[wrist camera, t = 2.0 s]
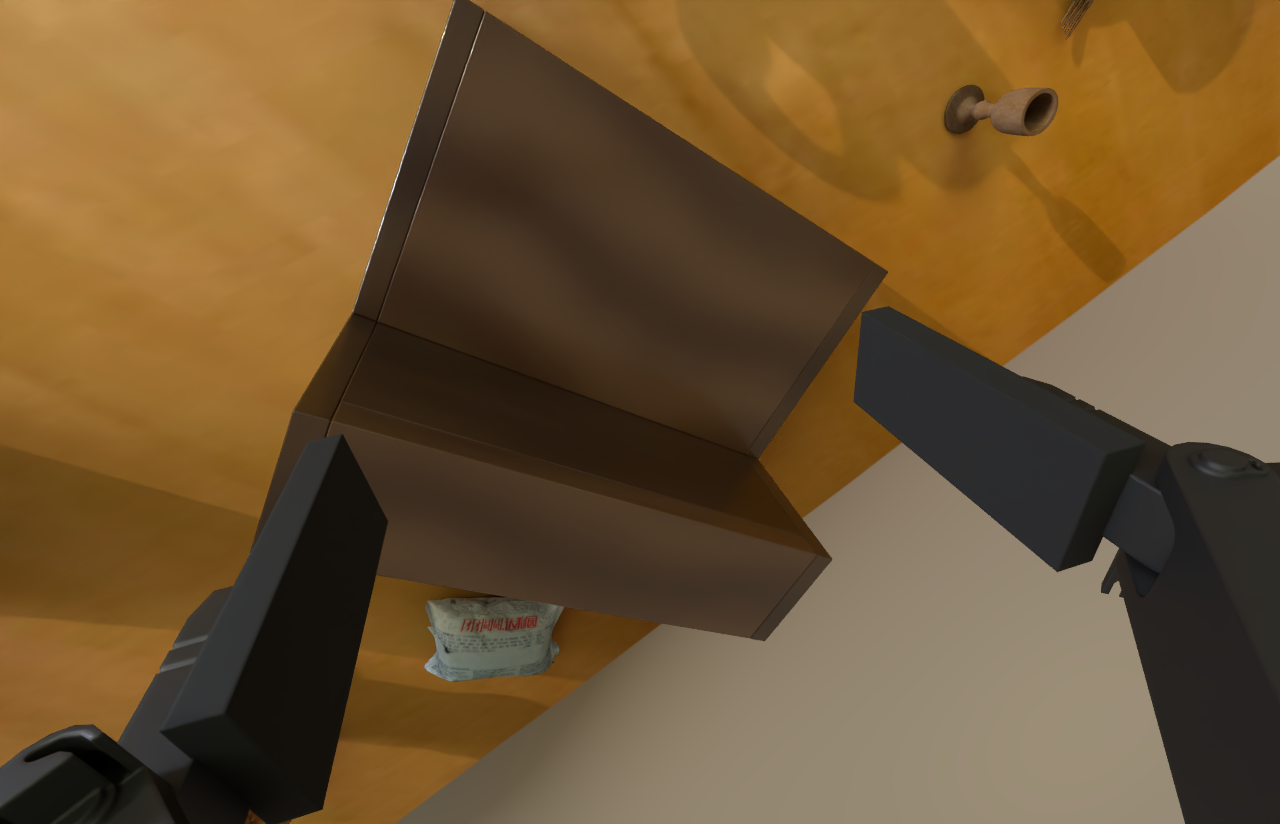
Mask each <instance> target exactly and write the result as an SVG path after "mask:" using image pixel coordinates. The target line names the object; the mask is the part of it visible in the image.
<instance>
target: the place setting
mask: <svg viewBox="0 0 1280 824" xmlns="http://www.w3.org/2000/svg"><path fill="white" fill-rule="evenodd" d="M1082 1H1083V0H1080V1H1079V2H1078V4H1077V5H1076V7H1075V8H1074V10H1073V11H1072V13H1071V14H1070V16H1069V18H1068V19H1067V21H1066V23H1065V24H1064V26H1063V28H1062V30H1063V29H1064V28H1065V26H1066V25H1067V23H1068V22H1069V21H1070V19H1071V17H1072V16H1073V14H1074V13H1075V11H1076V10H1077V8H1078V7H1079V5H1080V4H1081V2H1082ZM1076 2H1077V0H1074V2H1073V3H1072V5H1071V6H1070V8H1069V9H1068V11H1067V13H1066V14H1065V16H1064V18H1063V19H1062V21H1061V23H1060V25H1061V24H1062V23H1063V21H1064V20H1065V19H1066V17H1067V16H1068V14H1069V12H1070V11H1071V9H1072V8H1073V6H1074V5H1075V3H1076ZM1092 2H1093V0H1085V1H1084V3H1083V4H1082V6H1081V7H1080V9H1079V10H1078V12H1077V13H1076V15H1075V16H1074V18H1073V19H1072V21H1071V23H1070V24H1069V26H1068V28H1067V29H1066V31H1065V33H1064V35H1065V34H1066V32H1067V31H1068V30H1069V28H1070V27H1071V25H1072V24H1073V22H1074V21H1075V19H1076V18H1077V16H1078V15H1079V13H1080V12H1081V10H1082V9H1083V7H1084V6H1085V5H1086V3H1088V4H1087V6H1086V8H1085V9H1084V11H1083V12H1082V14H1081V15H1080V17H1079V18H1078V20H1077V21H1076V23H1075V24H1074V26H1073V27H1072V29H1071V31H1070V32H1069V34H1068V36H1067V38H1068V37H1069V36H1070V35H1071V33H1072V32H1073V30H1074V29H1075V27H1076V26H1077V24H1078V23H1079V21H1080V20H1081V18H1082V17H1083V15H1084V14H1085V12H1086V11H1087V9H1088V8H1089V7H1090V5H1091V4H1092ZM1067 38H1066V39H1067ZM1057 108H1058V96H1057V94H1056V92H1055V91H1054V90H1053V89H1050V88H1024V89H1017V90H1013V91H1010V92H1008V93H1006V94H1005V95H1003V96H1002V97H1001V98H1000V99H999V100H998V101H997V102H996V104H991V103H990V102H988V101H984V95H983V92H982V90H981V89H980V88H979V87H977V86H975V85H968V86H965V87H963V88H961V89H959V90H958V91H957V92H956V93H955V94H954V95H953V96H952V98H951V99H950V101H949V103H948V105H947V108H946V112H945V122H946V126H947V128H948V129H949V130H950V131H951V132H953V133H956V134H961V133H964V132H967V131H968V130H970V129H971V128H972V127H973V126H974V125H975V124H976V123H977V121H978V120H983V119H985V118H988V117H990V118H991V122H992V125H993V126H994V128H995V129H996V130H998V131H1000V132H1002V133H1006V134H1012V135H1021V136H1034V135H1038V134H1040V133H1041V132H1043V131H1044V130H1045V129H1046V128H1047V127H1048V126H1049V125H1050V124H1051V122H1052V121H1053V119H1054V117H1055V115H1056V112H1057Z"/></svg>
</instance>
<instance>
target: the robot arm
mask: <svg viewBox="0 0 1280 824" xmlns="http://www.w3.org/2000/svg"><path fill="white" fill-rule="evenodd" d="M854 402H855V403H856V404H857V405H858V406H859V407H861V408H862V409H863V410H864V411H865V412H867V413H868V414H869V415H870V416H871V417H873V418H874V419H875V420H876V421H877V422H879V423H880V424H881V425H882V426H883V427H884V428H886V429H887V430H888V431H889V432H890V433H892V434H893V435H894V436H895V437H896V438H898V439H899V440H900V441H901V442H902V443H904V444H905V445H906V446H907V447H908V448H910V449H911V450H912V451H913V452H914V453H916V454H917V455H918V456H919V457H920V458H922V459H923V460H924V461H925V462H926V463H928V464H929V465H930V466H931V467H932V468H934V469H935V470H936V471H937V472H938V473H939V474H941V475H942V476H943V477H944V478H945V479H947V480H948V481H949V482H950V483H951V484H953V485H954V486H955V487H956V488H957V489H959V490H960V491H961V492H962V493H963V494H965V495H966V496H967V497H968V498H969V499H971V500H972V501H973V502H974V503H975V504H977V505H978V506H979V507H980V508H981V509H982V510H984V511H985V512H986V513H987V514H988V515H990V516H991V517H992V518H993V519H994V520H996V521H997V522H998V523H999V524H1000V525H1002V526H1003V527H1004V528H1005V529H1006V530H1008V531H1009V532H1010V533H1011V534H1012V535H1014V536H1015V537H1016V538H1017V539H1018V540H1019V541H1021V542H1022V543H1023V544H1024V545H1026V546H1027V547H1028V548H1029V549H1030V550H1031V551H1033V552H1034V553H1035V554H1036V555H1037V556H1039V557H1040V558H1041V559H1042V560H1043V561H1045V562H1046V563H1047V564H1048V565H1049V566H1051V567H1052V568H1053V569H1054V570H1056V571H1057V572H1059V571H1062V570H1065V569H1068V568H1071V567H1074V566H1077V565H1080V564H1083V563H1087V562H1090V561H1092V560H1093V558H1094V555H1095V553H1096V551H1097V549H1098V547H1099V544H1100V542H1101V540H1102V538H1103V537H1105V538H1106V539H1108V540H1109V541H1110V542H1112V543H1113V544H1115V545H1116V546H1117V547H1119V550H1118V552H1117V554H1116V556H1115V558H1114V560H1113V562H1112V564H1111V566H1110V568H1109V570H1108V572H1107V574H1106V576H1105V578H1104V580H1103V582H1102V587H1101V593H1105V594H1109V592H1110V590H1111V588H1112V586H1113V584H1114V583H1115V582H1117V581H1119V582H1120V587H1121V590H1122V591H1121V593H1120V595H1119V596H1120V597H1123V598H1124V601H1125V605H1126V608H1127V612H1128V616H1129V619H1130V623H1131V626H1132V630H1133V634H1134V638H1135V641H1136V645H1137V649H1138V652H1139V656H1140V659H1141V663H1142V667H1143V671H1144V674H1145V678H1146V681H1147V685H1148V689H1149V693H1150V696H1151V700H1152V703H1153V707H1154V711H1155V715H1156V718H1157V722H1158V726H1159V729H1160V733H1161V737H1162V740H1163V744H1164V747H1165V751H1166V755H1167V759H1168V762H1169V766H1170V770H1171V773H1172V777H1173V781H1174V784H1175V788H1176V792H1177V795H1178V799H1179V802H1180V806H1181V809H1182V814H1183V817H1184V820H1185V824H1280V463H1264V462H1262V461H1260V460H1259V459H1256V458H1255V457H1253V456H1251V455H1249V454H1247V453H1244V452H1241V451H1238V450H1235V449H1232V448H1229V447H1226V446H1220V445H1215V444H1210V443H1197V442H1186V443H1181V444H1176V445H1174V446H1170V445H1168V444H1166V443H1164V442H1162V441H1160V440H1158V439H1156V438H1154V437H1152V436H1150V435H1148V434H1146V433H1144V432H1142V431H1140V430H1138V429H1136V428H1135V427H1133V426H1130V425H1129V424H1127V423H1125V422H1123V421H1121V420H1119V419H1117V418H1115V417H1113V416H1111V415H1109V414H1107V413H1105V412H1103V411H1102V410H1095V408H1094V406H1091V405H1090V404H1088V403H1086V402H1084V401H1082V400H1076V399H1075V397H1074V396H1072V395H1070V394H1068V393H1067V392H1065V391H1063V390H1061V389H1059V388H1057V387H1055V386H1053V385H1050V384H1047V383H1044V382H1040V381H1036V380H1033V379H1030V378H1027V377H1021V376H1019V375H1017V374H1015V373H1014V372H1011V371H1010V370H1008V369H1006V368H1004V367H1002V366H1000V365H998V364H997V363H995V362H993V361H991V360H989V359H987V358H985V357H983V356H981V355H979V354H978V353H976V352H974V351H972V350H970V349H968V348H966V347H964V346H962V345H961V344H959V343H957V342H955V341H953V340H951V339H949V338H947V337H945V336H944V335H942V334H940V333H938V332H936V331H934V330H932V329H930V328H928V327H926V326H925V325H923V324H921V323H919V322H917V321H915V320H913V319H911V318H909V317H908V316H906V315H904V314H902V313H900V312H898V311H896V310H894V309H892V308H890V307H889V306H888V307H883V308H879V309H875V310H870V311H866V312H862V318H861V328H860V339H859V349H858V360H857V370H856V381H855V391H854ZM387 525H388V520H387V518H386V516H385V514H384V512H383V510H382V508H381V506H380V504H379V503H378V501H377V499H376V497H375V495H374V493H373V491H372V489H371V487H370V485H369V483H368V481H367V480H366V478H365V476H364V474H363V472H362V470H361V468H360V466H359V464H358V462H357V460H356V458H355V457H354V455H353V453H352V451H351V449H350V447H349V445H348V443H347V441H346V439H345V437H344V435H343V434H339V435H335V436H330V437H326V438H322V439H317V440H313V441H309V442H307V444H306V446H305V448H304V450H303V452H302V454H301V456H300V458H299V459H298V461H297V463H296V465H295V467H294V469H293V471H292V473H291V475H290V477H289V479H288V481H287V483H286V485H285V487H284V489H283V491H282V493H281V495H280V496H279V498H278V500H277V502H276V504H275V506H274V508H273V510H272V512H271V514H270V516H269V518H268V520H267V522H266V524H265V526H264V528H263V530H262V532H261V533H260V535H259V537H258V539H257V541H256V543H255V545H254V547H253V549H252V551H251V553H250V555H249V557H248V559H247V561H246V563H245V565H244V567H243V569H242V571H241V572H240V574H239V576H238V578H237V580H236V582H235V584H234V586H231V587H228V588H224V589H220V590H216V591H214V592H213V593H212V594H211V595H210V596H209V597H208V598H207V599H206V600H205V601H204V602H203V603H202V604H201V605H200V606H199V607H198V608H197V609H196V610H195V611H194V612H193V613H192V614H191V616H190V617H189V618H188V619H187V621H186V623H185V624H184V626H183V628H182V630H181V632H180V633H179V635H178V637H177V639H176V640H175V642H174V644H173V650H171V651H169V653H168V654H167V656H166V658H165V660H164V661H163V663H162V665H161V667H160V673H159V674H156V675H155V677H154V679H153V681H152V683H151V684H150V686H149V688H148V690H147V691H146V693H145V695H144V697H143V698H142V700H141V702H140V704H139V705H138V707H137V709H136V711H135V712H134V714H133V716H132V718H131V719H130V721H129V723H128V725H127V727H126V728H125V730H124V732H123V734H122V735H121V737H120V739H119V741H118V742H117V743H116V742H115V741H114V740H113V739H111V738H110V737H109V736H108V735H106V734H105V733H104V732H102V731H101V730H100V729H98V728H97V727H96V726H94V725H74V726H71V727H68V728H66V729H63V730H60V731H57V732H55V733H52V734H49V735H48V736H46V737H44V738H43V739H41V740H39V741H38V742H36V743H34V744H32V745H31V746H29V747H27V748H26V749H24V750H22V751H21V752H20V753H18V754H17V755H16V756H15V757H13V758H12V759H11V760H10V761H8V762H7V763H6V764H5V765H3V766H2V767H1V768H0V824H245V822H246V819H247V816H248V813H249V810H251V811H252V812H253V813H254V814H256V815H257V816H258V817H259V818H260V819H261V820H263V821H264V822H265V823H266V824H279V823H282V822H285V821H288V820H291V819H294V818H297V817H301V816H304V815H307V814H310V813H313V812H316V811H319V810H322V809H323V804H324V800H325V796H326V791H327V787H328V783H329V778H330V774H331V770H332V765H333V761H334V756H335V752H336V748H337V743H338V739H339V735H340V730H341V726H342V721H343V717H344V713H345V708H346V704H347V700H348V695H349V691H350V686H351V682H352V678H353V673H354V669H355V665H356V660H357V656H358V652H359V647H360V643H361V638H362V634H363V630H364V625H365V621H366V617H367V612H368V608H369V603H370V599H371V595H372V590H373V586H374V582H375V577H376V573H377V568H378V564H379V560H380V555H381V551H382V547H383V542H384V538H385V534H386V529H387Z"/></svg>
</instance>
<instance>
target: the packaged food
mask: <svg viewBox="0 0 1280 824" xmlns="http://www.w3.org/2000/svg"><path fill="white" fill-rule="evenodd" d="M563 609H564V607H562V606H556V605H550V604H545V603H539V602H533V601H527V600H521V599H515V598H509V597H504V598H496V597H492V596H488V597H478V598H446V599H443V600H441V599H437V600H429V601H427V603H426V612H427V614H428V616H429V621H430V623H431V627H428V629H429V630H430V631H431V633H432V634H433V636H434V638H435V643H436V650H437V651H436V653H435V654H434V656H433V657H432V658H430V659H429V661H428V663H426V664H425V670H428V671H429V672H430V673H432V674H434V675H436V676H438V677H441V678H443V679H445V680H449V681H451V682H458V681H466V680H474V679H483V678H491V677H498V676H529V675H536V674H541V673H544V672H545V671H546V670H547V669H548V668H549V667H550V665H551V663H554V661H553V660H554V658H555V656H557V655H558V653H559V651H560V649H559V646H558V644H557V643H555V642H554V641H553V639H552V637H551V636H552V632H553V627H554V626H555V624H556V622H557V620H558V618H559V616H560V614H561V613H562V611H563ZM432 627H433V628H432ZM430 660H431V661H430Z"/></svg>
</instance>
